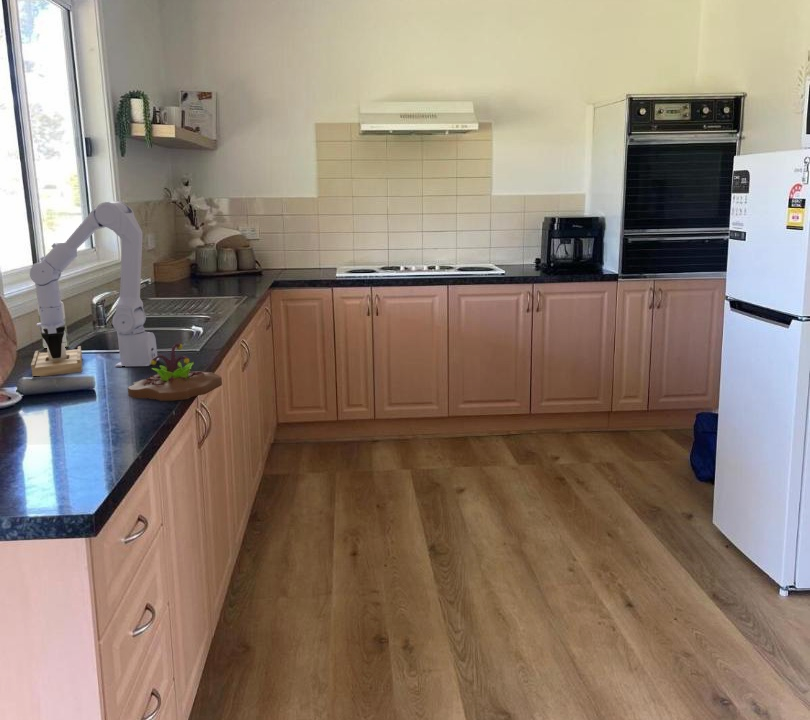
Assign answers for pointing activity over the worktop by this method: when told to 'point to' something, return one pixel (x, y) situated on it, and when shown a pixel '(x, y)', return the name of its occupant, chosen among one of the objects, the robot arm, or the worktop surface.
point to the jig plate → (57, 363)
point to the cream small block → (63, 353)
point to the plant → (174, 381)
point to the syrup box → (65, 336)
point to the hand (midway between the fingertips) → (57, 355)
